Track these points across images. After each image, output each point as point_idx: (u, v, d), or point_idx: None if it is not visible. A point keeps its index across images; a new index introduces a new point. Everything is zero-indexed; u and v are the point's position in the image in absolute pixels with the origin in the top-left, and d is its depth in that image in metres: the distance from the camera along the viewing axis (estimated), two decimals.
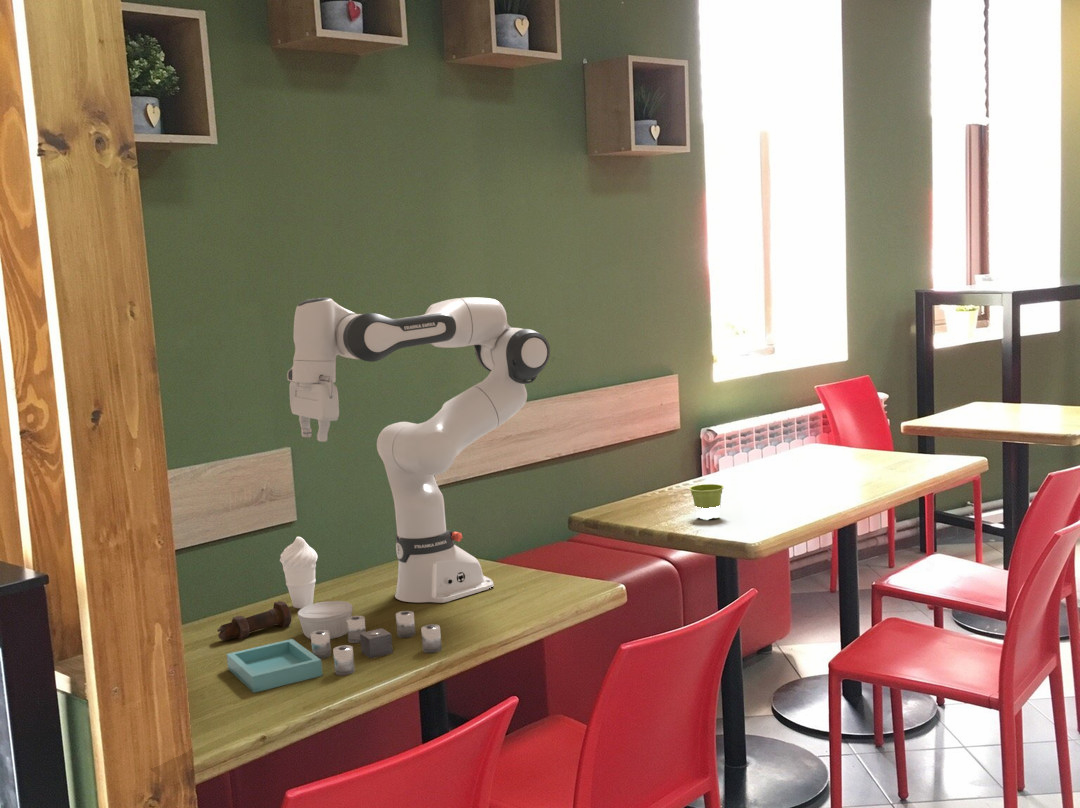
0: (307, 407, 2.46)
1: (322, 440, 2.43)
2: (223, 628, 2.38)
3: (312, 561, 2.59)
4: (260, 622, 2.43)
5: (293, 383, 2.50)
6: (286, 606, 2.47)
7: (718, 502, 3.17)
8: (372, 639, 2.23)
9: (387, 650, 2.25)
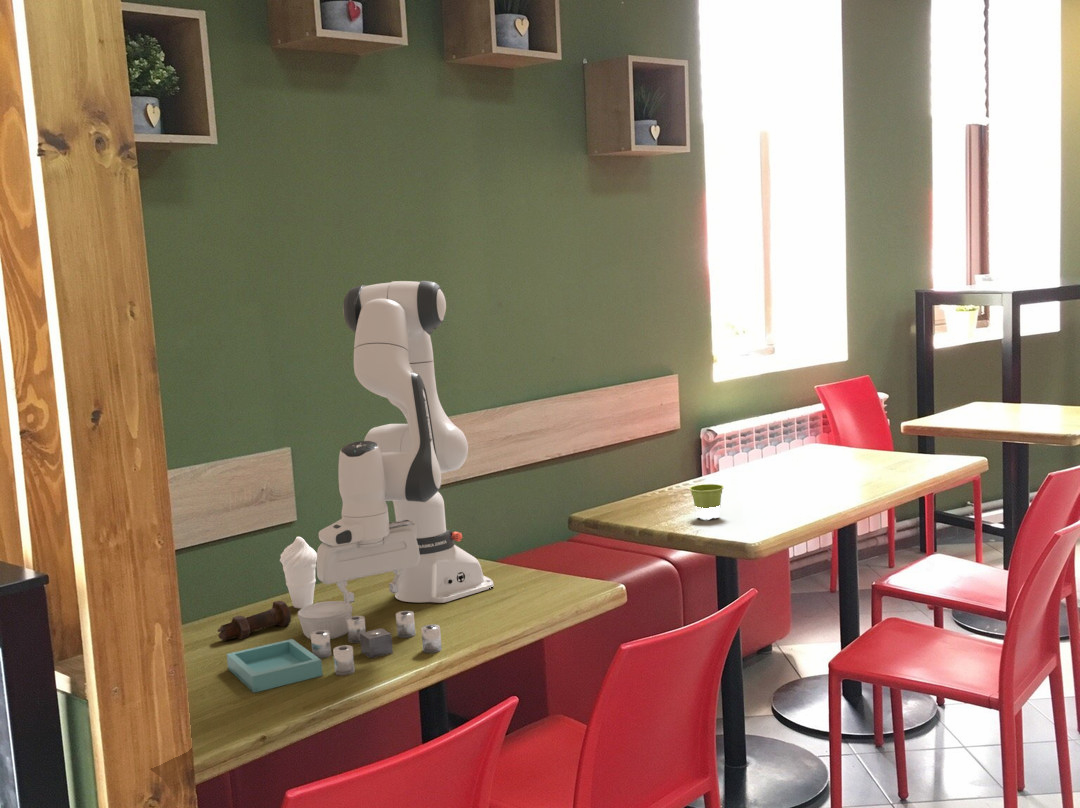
0: (376, 563, 2.23)
1: None
2: (224, 628, 2.38)
3: (312, 561, 2.59)
4: (260, 622, 2.43)
5: (346, 546, 2.18)
6: (285, 605, 2.47)
7: (718, 502, 3.17)
8: (372, 639, 2.23)
9: (387, 650, 2.25)
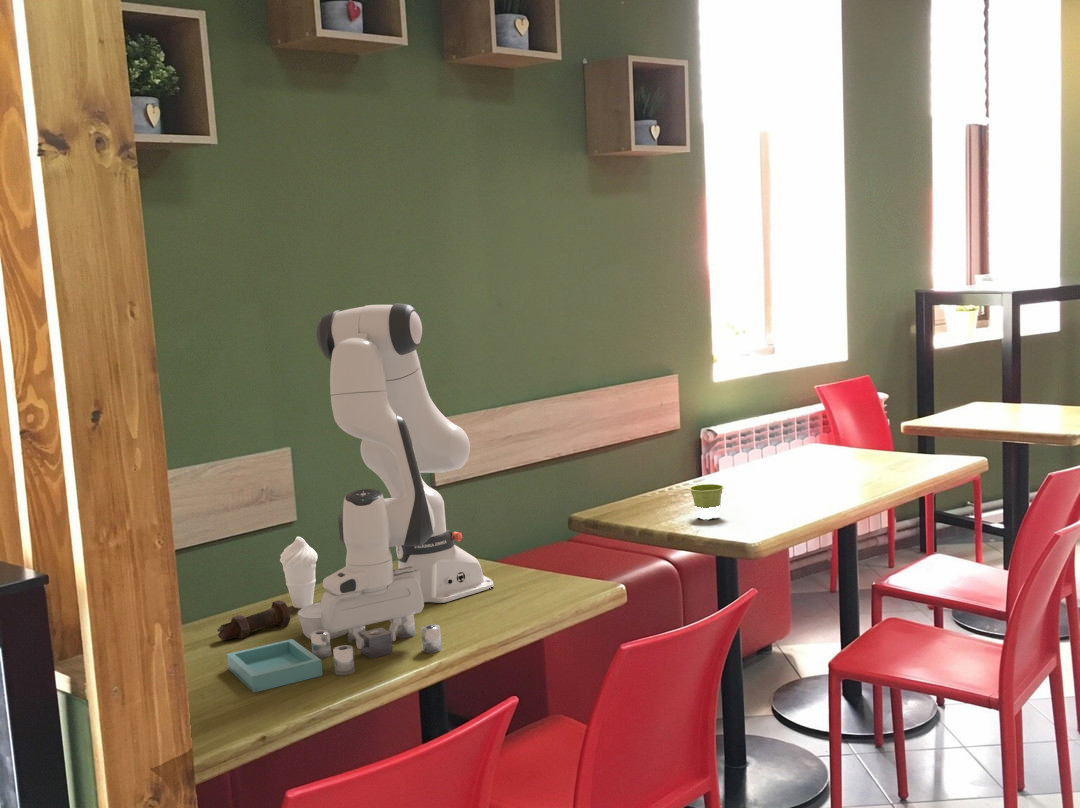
0: (380, 611, 2.24)
1: None
2: (223, 628, 2.38)
3: (312, 561, 2.59)
4: (260, 622, 2.44)
5: (350, 594, 2.19)
6: (285, 605, 2.47)
7: (718, 502, 3.17)
8: (372, 638, 2.23)
9: (387, 650, 2.24)
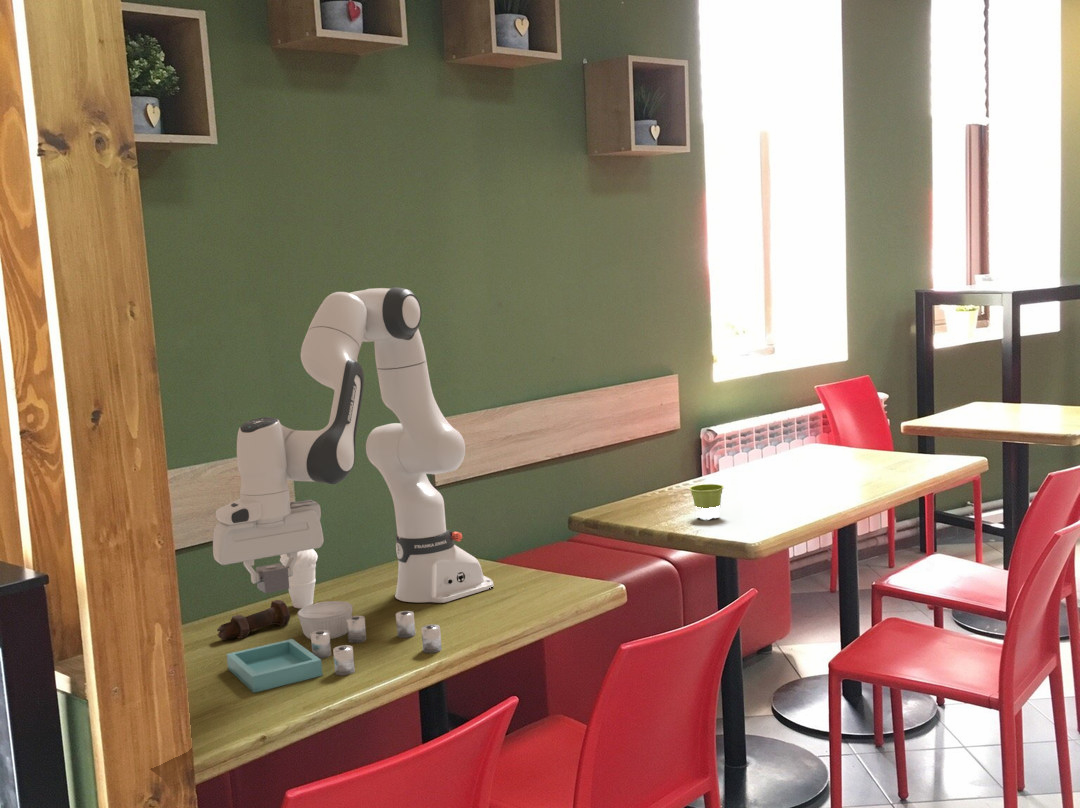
0: (276, 544, 2.15)
1: None
2: (223, 627, 2.39)
3: (312, 561, 2.59)
4: (259, 621, 2.44)
5: (243, 525, 2.10)
6: (284, 605, 2.48)
7: (718, 502, 3.17)
8: (267, 572, 2.14)
9: (283, 585, 2.15)
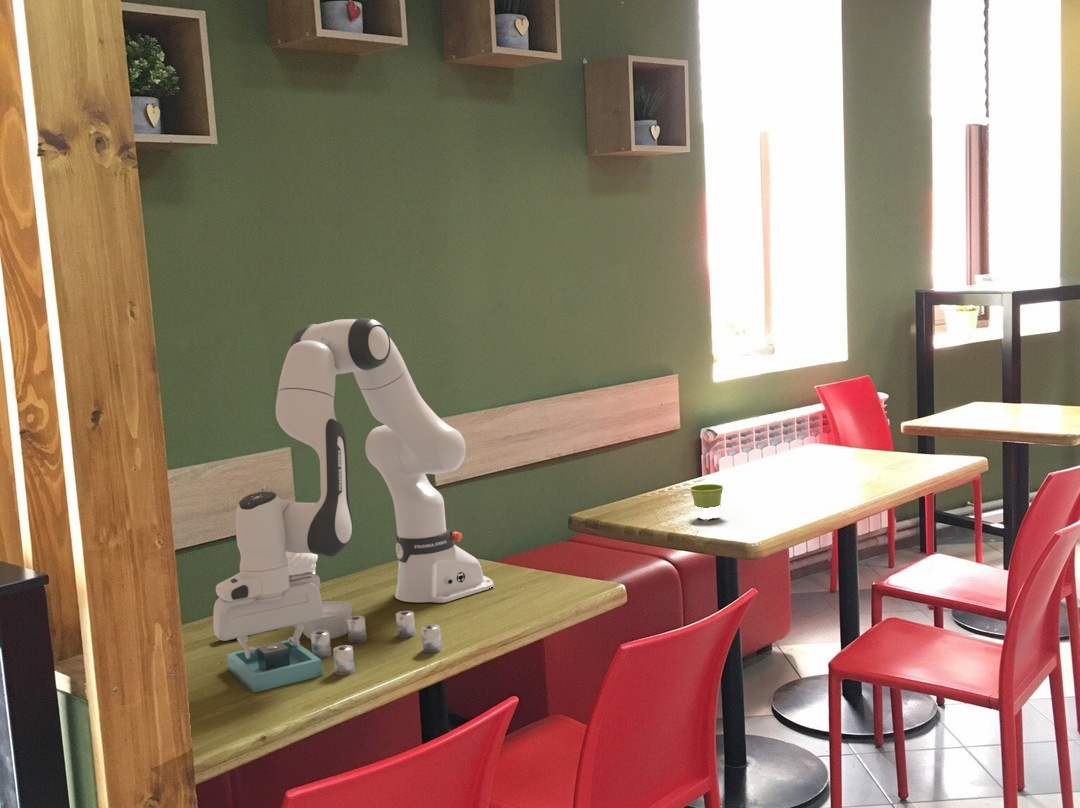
0: (276, 618, 2.16)
1: None
2: None
3: (312, 561, 2.59)
4: None
5: (242, 601, 2.12)
6: None
7: (718, 502, 3.17)
8: (268, 653, 2.15)
9: (284, 665, 2.17)
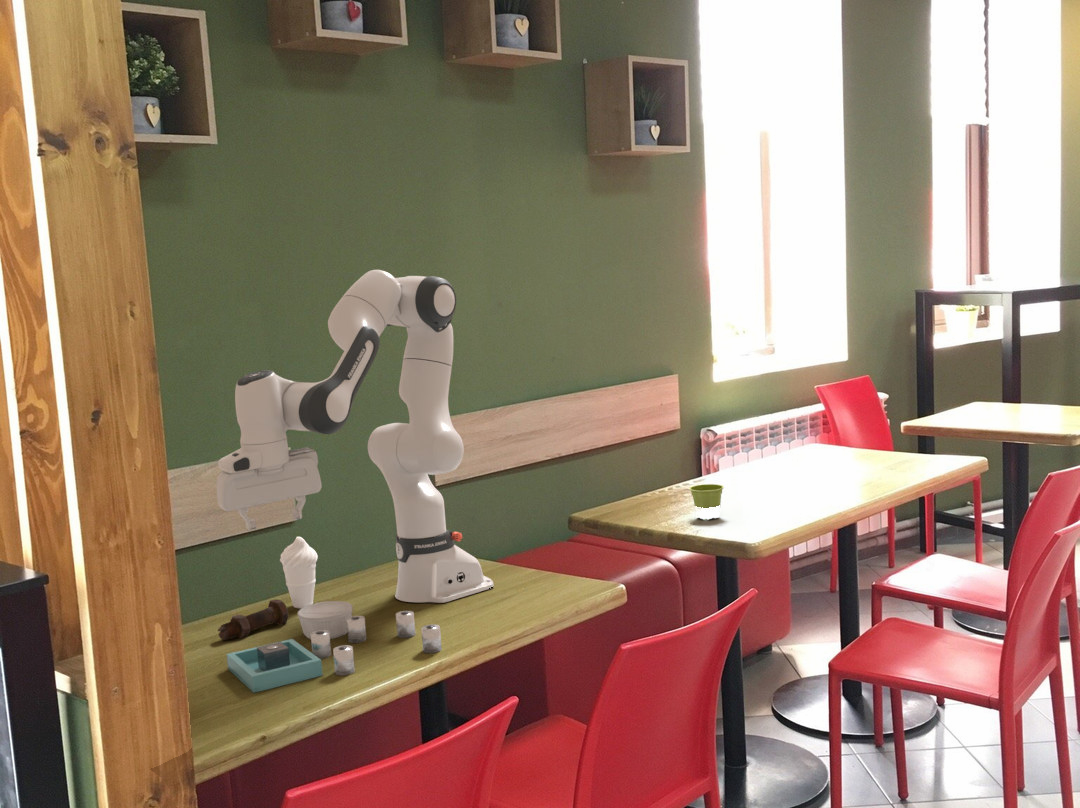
0: (276, 490, 2.27)
1: None
2: (225, 627, 2.39)
3: (312, 561, 2.59)
4: (259, 620, 2.44)
5: (244, 473, 2.22)
6: (283, 604, 2.49)
7: (718, 502, 3.17)
8: (268, 653, 2.15)
9: (284, 665, 2.17)
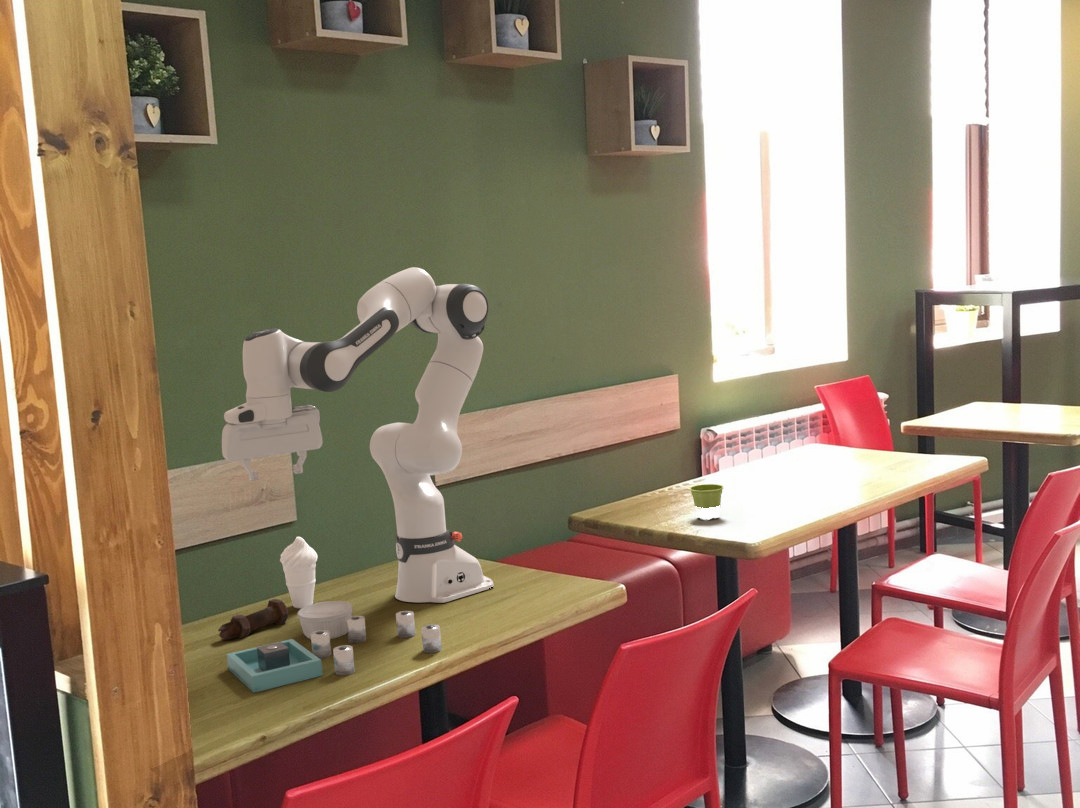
0: (279, 444, 2.36)
1: None
2: (225, 627, 2.39)
3: (312, 561, 2.59)
4: (259, 620, 2.44)
5: (248, 425, 2.31)
6: (282, 603, 2.49)
7: (718, 502, 3.17)
8: (268, 653, 2.15)
9: (284, 665, 2.17)
